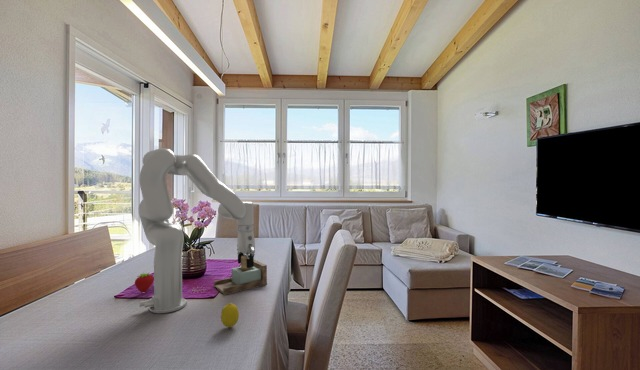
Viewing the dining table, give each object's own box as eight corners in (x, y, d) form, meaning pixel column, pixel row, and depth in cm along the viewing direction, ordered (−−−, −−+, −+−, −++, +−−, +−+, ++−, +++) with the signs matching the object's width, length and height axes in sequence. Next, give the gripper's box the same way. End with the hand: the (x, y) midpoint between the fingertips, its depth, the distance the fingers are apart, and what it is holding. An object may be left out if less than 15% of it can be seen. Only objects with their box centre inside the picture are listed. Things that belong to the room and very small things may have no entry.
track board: (224, 294, 124) (224, 273, 124) (213, 286, 134) (213, 266, 134) (266, 284, 136) (266, 265, 136) (254, 277, 146) (254, 259, 146)
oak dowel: (251, 277, 137) (251, 256, 137) (243, 279, 134) (243, 257, 134) (247, 275, 140) (247, 254, 140) (239, 277, 137) (239, 255, 137)
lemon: (229, 333, 91) (229, 308, 91) (217, 329, 94) (217, 304, 94) (242, 326, 96) (242, 301, 96) (230, 322, 99) (230, 298, 99)
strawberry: (157, 291, 128) (157, 268, 128) (139, 297, 121) (139, 273, 121) (149, 289, 131) (148, 267, 131) (131, 295, 124) (131, 271, 124)
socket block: (240, 286, 130) (240, 273, 130) (231, 281, 138) (231, 268, 138) (261, 282, 136) (260, 269, 136) (251, 276, 144) (251, 264, 144)
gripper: (261, 229, 132) (261, 267, 132) (245, 225, 146) (245, 260, 146) (245, 231, 128) (245, 270, 128) (230, 227, 141) (230, 262, 141)
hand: (245, 265), depth 137 cm, fingers open, 9 cm apart
